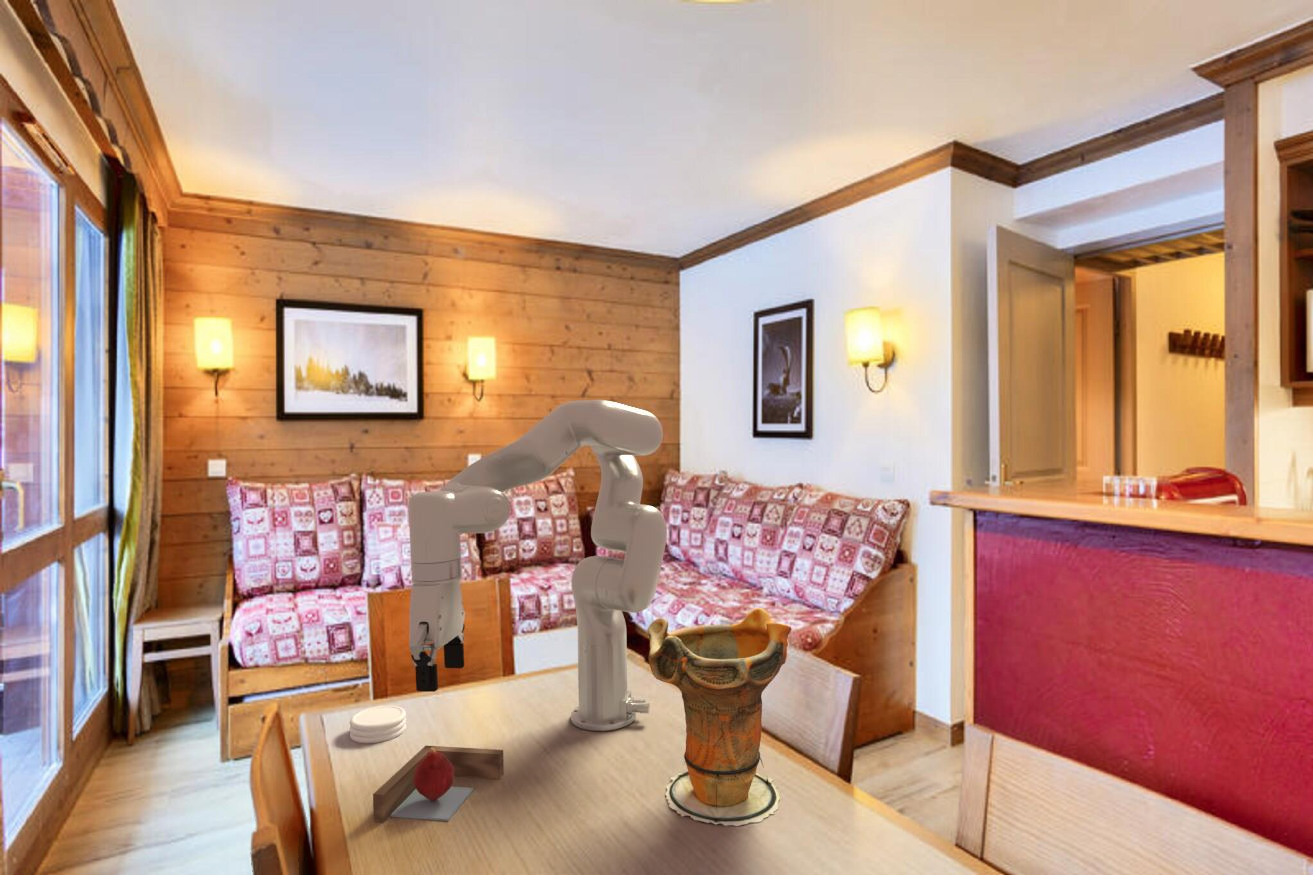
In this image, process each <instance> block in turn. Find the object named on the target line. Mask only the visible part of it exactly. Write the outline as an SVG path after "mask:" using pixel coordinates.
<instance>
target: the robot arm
mask: <svg viewBox="0 0 1313 875" xmlns="http://www.w3.org/2000/svg"><path fill="white" fill-rule="evenodd" d="M663 438H664V430H663V426H662V423H661V422H660V420H659V419H658V418H657V417H656V415H655V414H653V413H651V412H649V411H647V410H643V409H640V408H637V407H632V406H628V405H626V404H621V403H618V402H614V401H610V400H605V399H586V400H573V401H571V400H570V401H566V402H564V403H562V404H560V405H559V406H557V407H556V408H554V410H551V412H550V413H547V415H546V416H545V417H543V418H542V419H541V420H540V421H539V422H538V423H536V424H535V425H534V426H533V427H532V428H530V429H529V430H528V431H527V432H525V433H524V434H523V435H521V437H519V438H518V439H516V440H515V441H513V442H511V443H510V444H507V445H505V446H503V447H501V448H499V449H497V450H496V451H494V452H492V453H490V454H488V455H486V456H484V457H482V458H479V459H478V460H476V461H475V462H473V463H471V464H470V465H468V466H467V467H465V468H464V469H463V470H461V471H460V472H459V473H458V474H456V475H455V476H454V477H453V478H451V479H450V480H449V481H448V482H446V484H444V485H443V486H442V487H441V489H440V490H431V491H421V492H417V493H414V494H413V495H411V496H410V498H409V500H408V526H409V544H410V545H409V549H410V571H411V584H412V585H411V590H410V597H409V599H410V600H409V617H408V618H409V623H408V624H409V629H408V630H409V633H408V634H409V635H408V637H409V644H408V645H409V646H408V647H409V650H410V653H411V655H410V656H411V659H412V661H413V666H414V667H415V685H416V691H417V692H426V693H427V692H436V691H437V690H438V689H439V683H438V681H439V678H438V664H437V663H435V661H436V658H437V655H438V654H437V653H438V650H440V649H441V648H443V659H444V660H443V661H444V664H443V665H444V668H445V669H464V667H465V652H464V651H465V648H464V646H465V645H464V642H465V635H464V632H465V631H464V630H465V616H466V611H465V610H464V605H463V604H464V602H463V593H462V592H463V591H462V585H461V579H462V578H463V570H462V569H463V568H462V547H461V546H462V545H461V535H463V534H487V533H492V532H494V531H497V530H499V529H500V528H501V527H503V526H504V525H505V524H506V523H507V521H508V519H509V518H510V514H511V503H510V501H509V499H508V496H507V495H506V494H504V492H506V491H508V490H509V491H510V490H511V489H514V488H518V487H523V486H528V485H532V484H534V483H537V482H540V481H543V480H545V479H547V478H548V477H551V475H552V474H553V473H554V472H555V471H556V470H557V469H559V468H560V466H562V465H563V464H564V463H565V462H566V461H567V460H568V459H569V458H571V457H572V456H573V455H575V453H576V452H577V451H578V450H579V449H581V448H583V447H590V448H591V450H592V452H593V453H594V456H595V457H596V460H597V461H598V463H599V467H600V471H601V474H600V475H601V481H600V488H599V492H598V497H597V500H596V504H595V509H594V513H593V518H592V523H591V528H590V529H591V530H590V537H591V540H592V542H593V544H595V545H596V546H597V547H599V548H601V549H604V550H607V551H614V552H620V553H624V559H623V558H618V557H612V556H611V557H610V556H605V555H593V556H588V557H586V558H583V559H581V560H580V561H579V562H578V563H577V564H576V566H575V567H574V569H573V571H572V575H571V584H570V585H571V591H572V596H573V600H574V601H573V602H574V605H575V611H576V622H577V623H576V624H577V674H578V676H577V679H578V706H576V707H575V708H574V709H573V710H572V711H571V713H570V719H571V720H570V721H571V723H572V724H573V725H575V727H578V728H580V729H583V730H588V731H595V732H596V731H597V732H604V731H605V732H606V731H611V730H612V731H613V730H618V729H621V728H624V727H625V728H626V726H628V725H630V724H632V723H633V722H634V721H635V720H636V713H639V714H649V713H650V708H651V707H650V702H646V699H645V698H642V699H641V698H639V699H638V698H637V699H636V698H634V697H632V691H631V690H628V657H627V656H628V655H627V652H628V650H627V649H628V648H627V647H628V646H627V641H628V640H627V625H626V619H625V617H624V613H623V612H625V613H632V614H633V613H634V614H637V613H641V612H643V611H645V610H646V609H648V608H649V606H650V605H651V604H652V602H653V600H654V598H655V595H656V591H657V588H658V584H659V578H660V575H661V568H662V565H663V559H664V554H665V549H666V545H667V537H668V529H667V523H666V519H665V517H664V515H663V513H662V512H661V511H660V509H658V508H656V507H654V506H652V505H649V504H642V503H641V501H642V494H643V489H644V488H643V487H644V477H643V473H642V470H641V466H640V465H639V463H638V460H637V458H635V456H636V457H637V456H639V457H644V456H650V455H651V454H653V453H655V452H657V451H658V449H659V448H660V446H661V445H662V442H663ZM426 651H430V652H429V654H427V652H426Z"/></svg>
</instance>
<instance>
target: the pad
mask: <svg viewBox="0 0 1313 875" xmlns="http://www.w3.org/2000/svg"><path fill="white" fill-rule="evenodd" d="M474 790H475V788H474V787H466V786H465V787H462V786H453V785H451V788H450V789H449V790H448V791H447V792H446V793H445V794H444V795H443V796H441V797H440V798H439V799H437V800H436V801H431V800H429V799H427V798H425V797H424V796H423V795H421V794H419V792H418V791H417V789H415V790H414V791H413V792H412V793H411V794H410V795H409V796H408V797H407V798H406V799H405V801H404V802H403V803H402V804H401V805H400V806H399V807H398V808H397V809H396V810H395V811H394V812H393V813H392V814H391V816H390V817H391V818H400V819H401V818H403V819H416V820H430V821H443V822H449V821H450V820H451V818H452V817H453V816H454V815H455V813H456V812H457V811H458V810H459V808H460V807H462V805H463V804H464V803H465V801H467V799H468V798H469V796H470V795H471V794H472V793H473V792H474Z"/></svg>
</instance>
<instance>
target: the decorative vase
mask: <svg viewBox="0 0 1313 875" xmlns="http://www.w3.org/2000/svg"><path fill="white" fill-rule="evenodd" d="M668 629H669V621H668V619H665V618H663V617H659V618H656V619H655V620H653V621H652V622H651V624H649V625H648V628H647V629H646V630H647V633H648V637H649V653H648V663H649V667H650V671H651V674H652V675H653V676H654V678H655V679H656V680H658V681H660V682H663V683H667V684H670V685H673V686H675V687H676V688H677V689H679V691H680V692H681V698H682V700H683V709H684V714H685V732H686V736H685V751H684V753H683V758H684V763H683V764H686V768H687V771H685V772H679V773H677V774H676V775H675V776H671V777H670V780H672V781H671V782H670V783H669V784H667V785H666V786H665V787H666V792H665V793H664V794H665V800H667V803H668V807H670V809H672V810H675V811H676V812H677V813H676V814H679V815H680V817H685V816H688V817H689V816H690V819H693V820H694V821H700V822H704V823H706V824H710V823H711V824H714V825H718V824H721V825H723V826H724V827H727V826H735V827H739V826H742V825H748V824H750V823H761V822H762V821H763V820H764V819H766V818H768V817H770V816H769V815H775V813H774V812H776V811H777V810H779V801H780V800H781V797H780V794H779V793H780V792H779V790H778V789H777V788H778V786H777V785H775V784H774V783H773V781H774V779H773V778H770V777H767V776H763V775H761V774H759V773H758V772H757V768H758V766H759V763H760V762H761V765H762V768H763V769H764V768H765V767H764V765H763V760H762V757H761V753H760V748H761V746H760V745H761V740H762V730H763V729H762V723H763V722H762V717H763V716H762V715H763V700H762V699H763V698H762V694H763V692H764V691H765V689H767V687H768V686H769V685H770V684H771V682H772V681H773V680H774V679H775V677H776V676H777V675H778V674H779V672H780V670H781V668H782V666H783V665H785V663H786V662H787V657H788V653H787V652H788V646H789V642H788V636H789V634H791V631H792V626H790V625H789V624H784V623H781V622H774V621H773V620H772V618H771V616H770V615H769V613H768V611H767V610H766V609H764V608H761V607H756V608H754V609H753V610H751V611H750V612H749V613H747V615H746V616H745V617H744V618H743V620H742V621H740V622H736V623H734V624H733V623H732V624H702V625H701V624H700V625H693V626H687V627H681V628H678V629H675V630H673V631H670V632H668Z"/></svg>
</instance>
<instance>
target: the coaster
mask: <svg viewBox="0 0 1313 875" xmlns="http://www.w3.org/2000/svg"><path fill="white" fill-rule="evenodd" d="M406 716H407V712H406V710H405V709H404V708H403V707H401V706H396V705H379V706H373V707H369V708H365V709H363V710H360V711H359V712H356V713H355V714H354V715H353V716H351V718H350V720H349V732H350V733H349V737H350V739H351V740H352V741H354V742H356V743H359V744H376V743H377V744H378V743H382V742H386V741H390V740H393V739H395V738H397V737H400V736H401V735H402V734H403V733H404V732H406V729H407V724H406V723H407V717H406Z"/></svg>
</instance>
